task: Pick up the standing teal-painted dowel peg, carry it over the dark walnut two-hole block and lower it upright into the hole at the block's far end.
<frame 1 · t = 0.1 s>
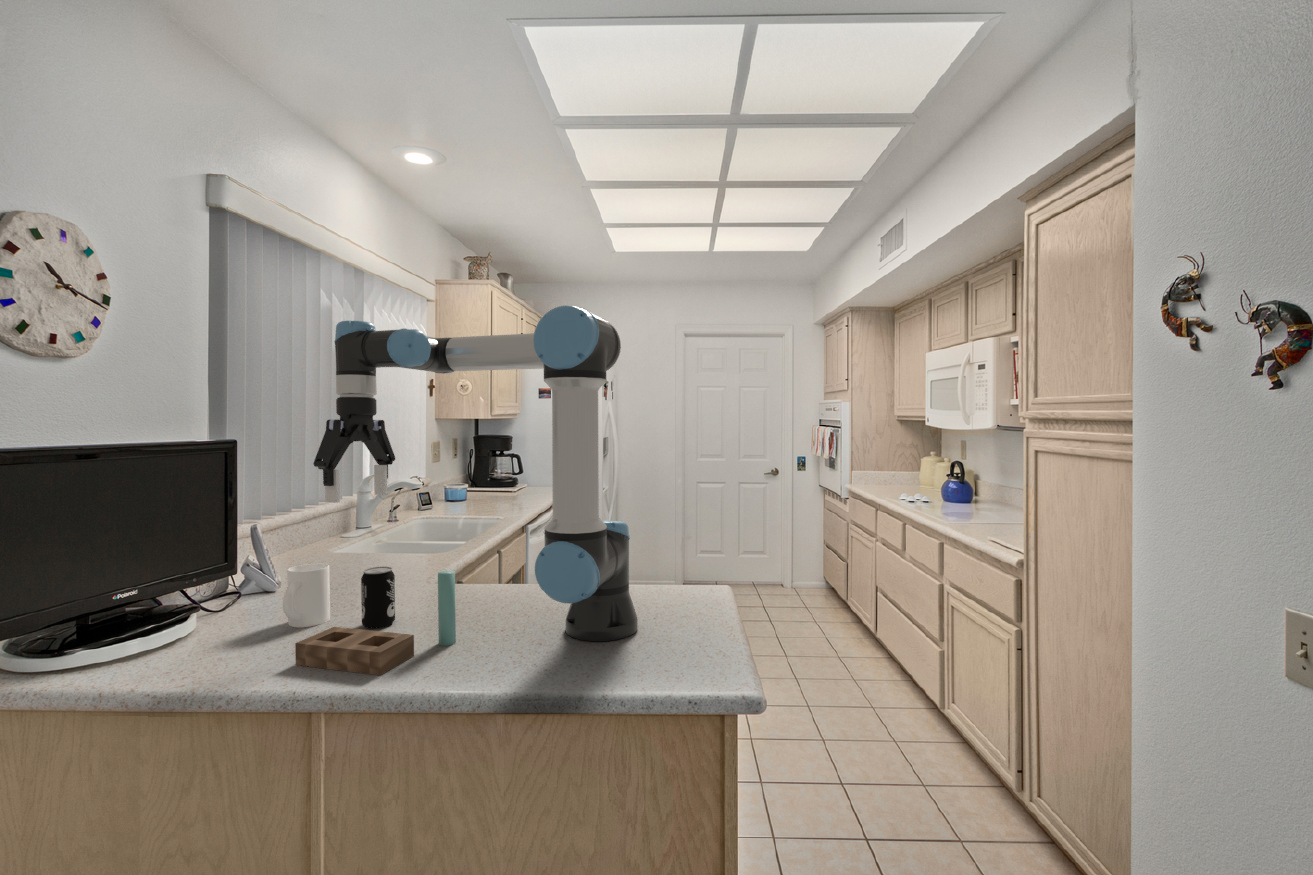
hand: (357, 498, 126), 28 cm above the countertop, fingers open, 13 cm apart
mug: (303, 625, 131), on the countertop
hole block: (356, 660, 111), on the countertop
peg: (447, 642, 119), on the countertop
beverage can: (378, 625, 131), on the countertop
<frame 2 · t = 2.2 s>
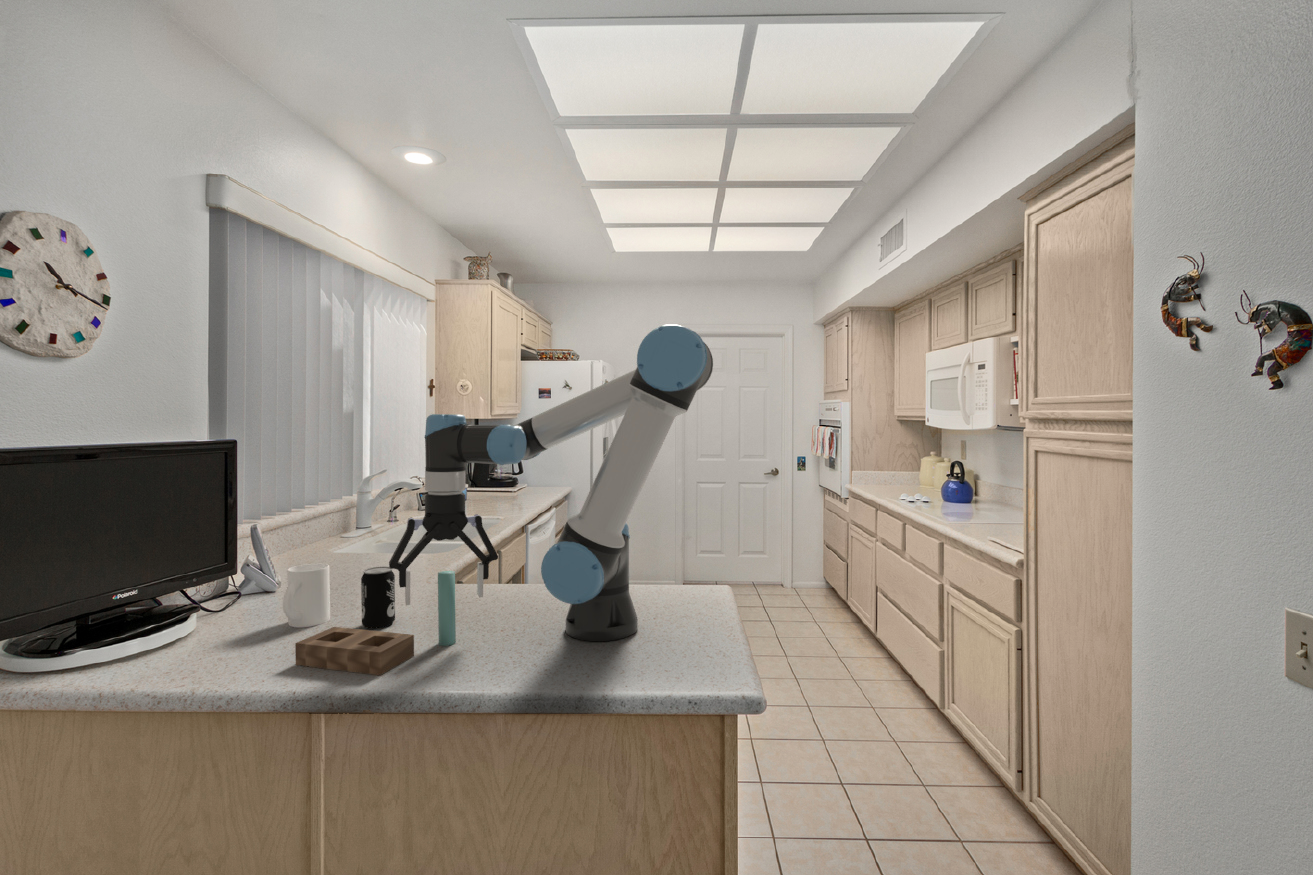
hand: (444, 599, 119), 9 cm above the countertop, fingers open, 13 cm apart
nothing on the countertop moved.
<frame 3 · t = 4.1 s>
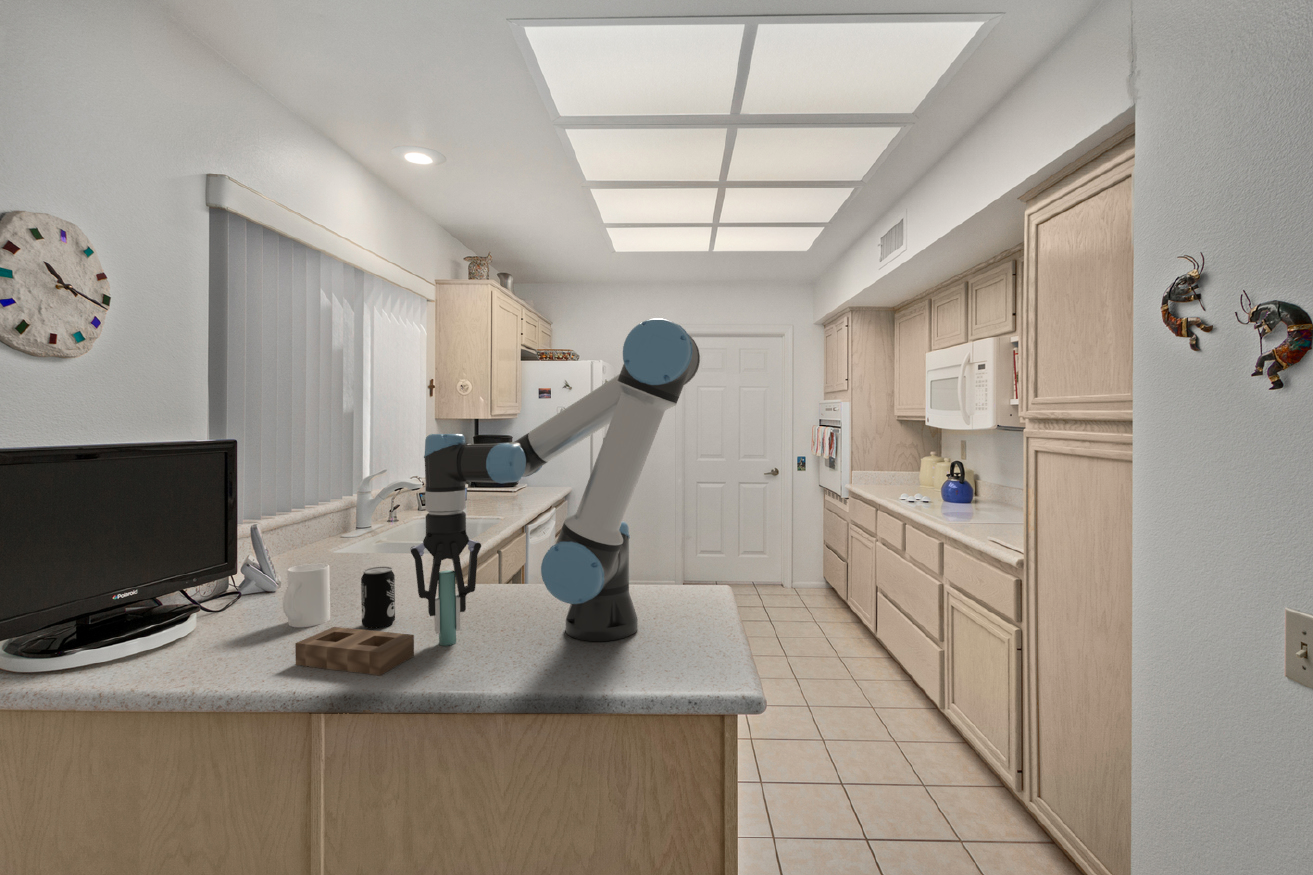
hand: (447, 629, 119), 3 cm above the countertop, fingers closed on peg, 3 cm apart
peg: (447, 642, 119), on the countertop, touching gripper
everything else where it was.
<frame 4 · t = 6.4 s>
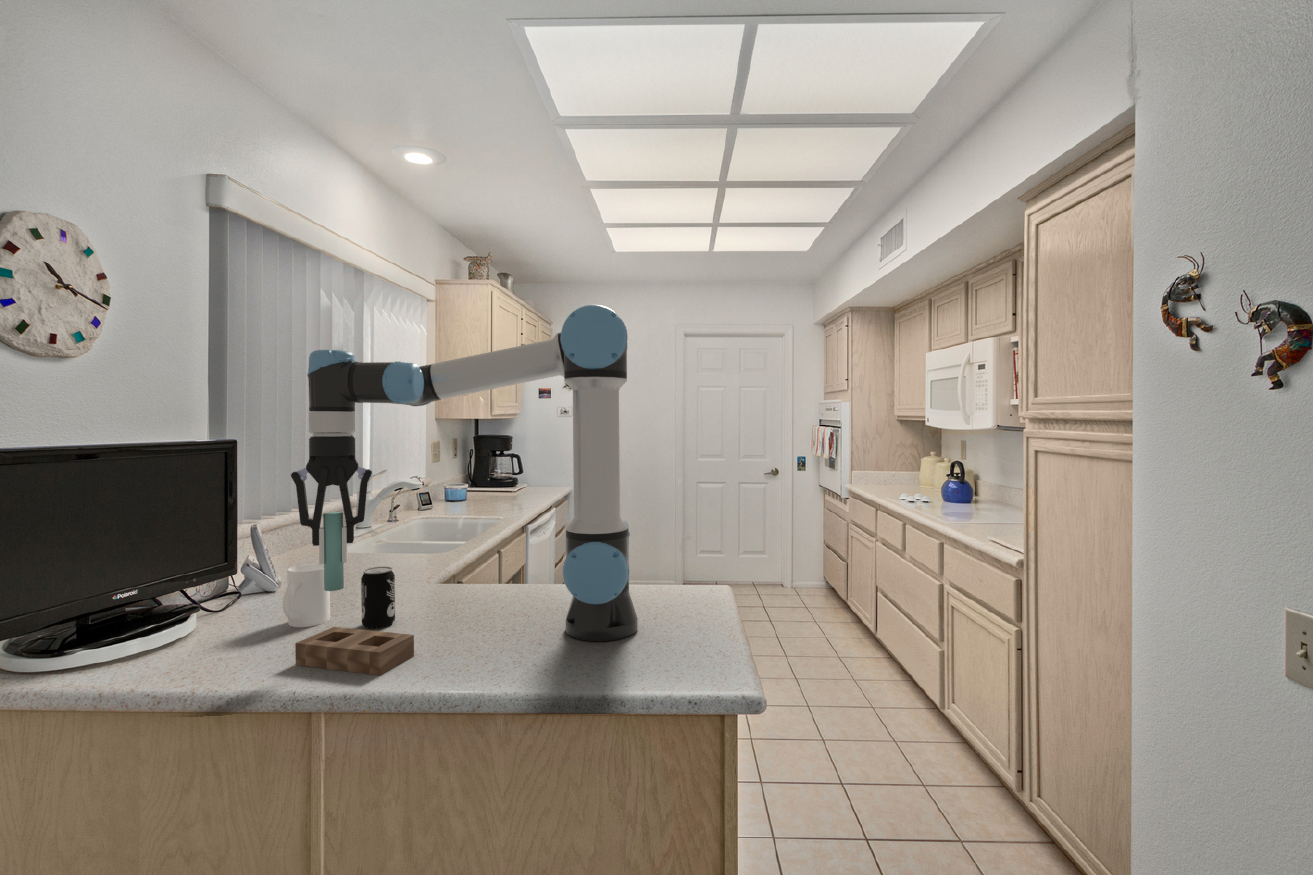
hand: (333, 561, 111), 18 cm above the countertop, fingers closed on peg, 3 cm apart
peg: (334, 588, 111), point 13 cm above the countertop, touching gripper
everything else where it was.
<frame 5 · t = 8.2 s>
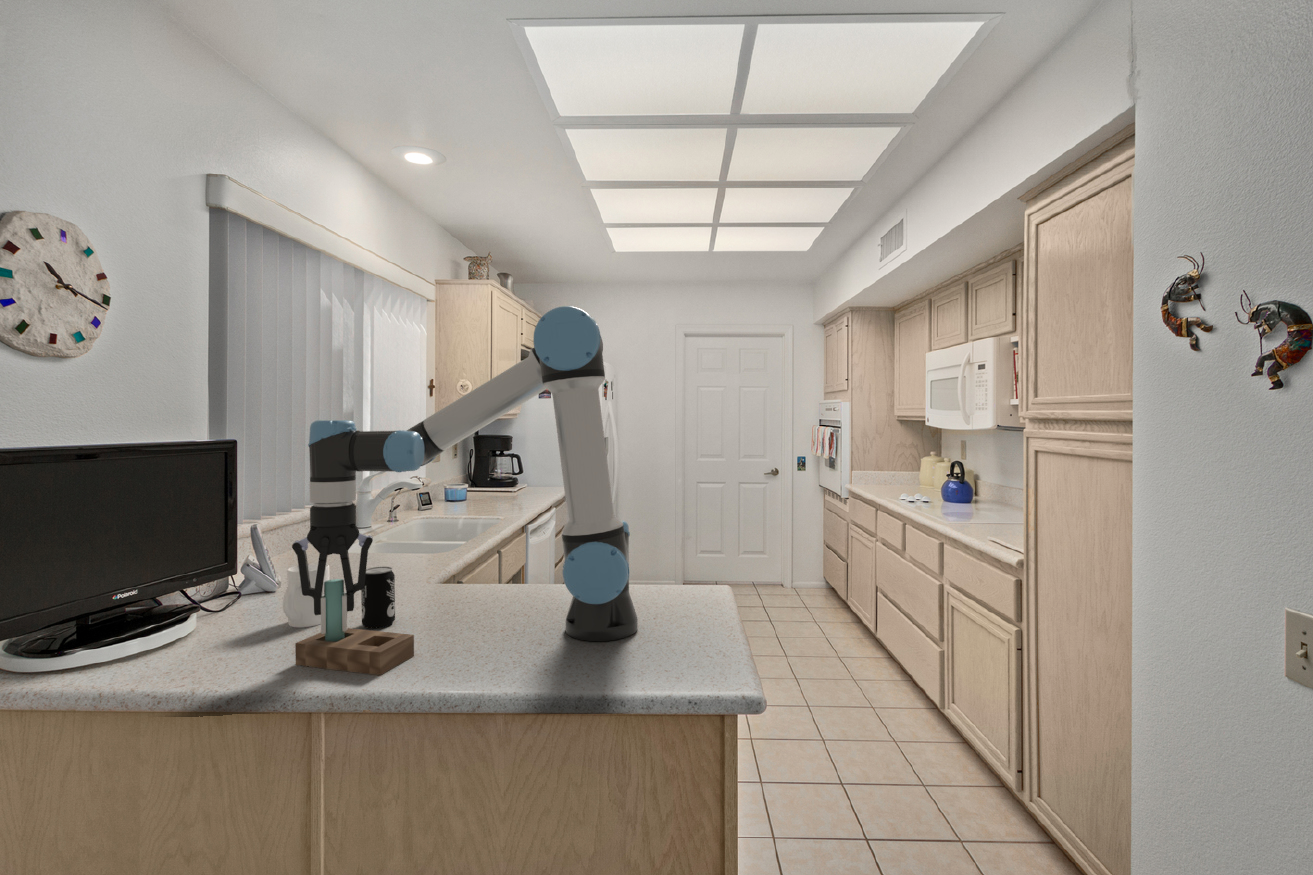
hand: (334, 629, 112), 5 cm above the countertop, fingers closed on peg, 3 cm apart
peg: (335, 656, 112), resting in hole block, touching gripper
everything else where it was.
when the fingers open (5 cm above the countertop, at t = 8.9 s): peg stays where it is, resting in hole block.
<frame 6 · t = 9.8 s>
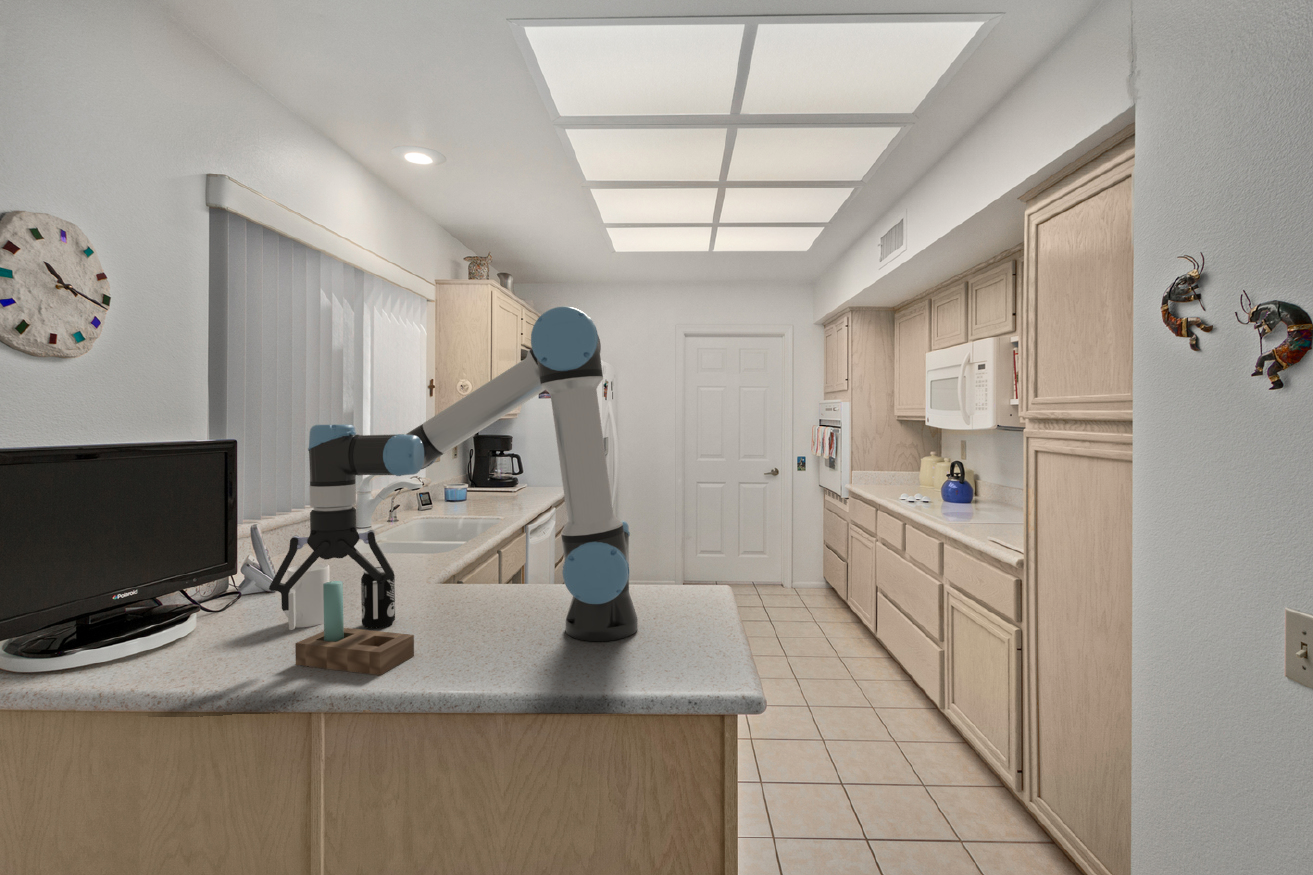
hand: (335, 622, 112), 7 cm above the countertop, fingers open, 13 cm apart
peg: (334, 658, 112), resting in hole block
everything else where it was.
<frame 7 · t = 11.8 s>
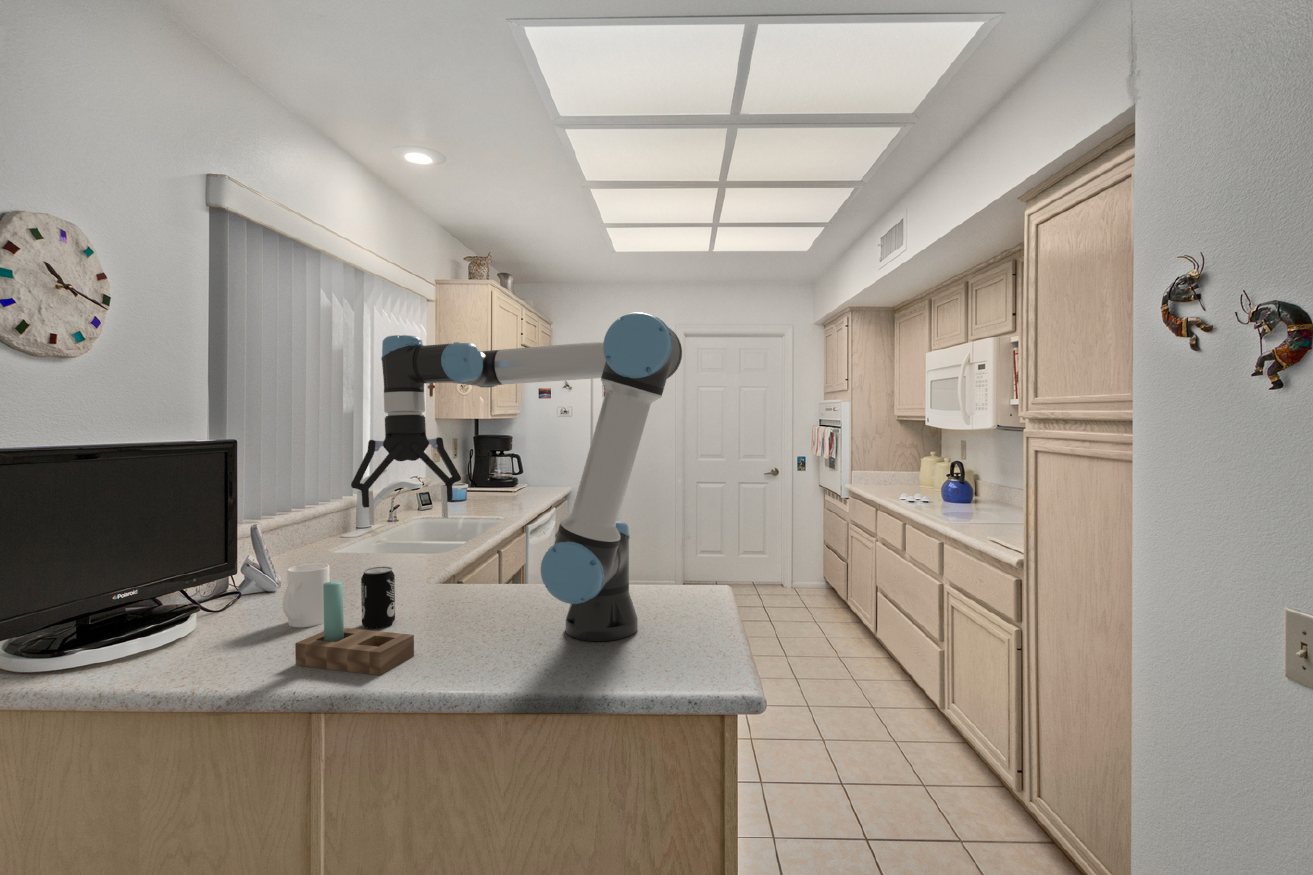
hand: (409, 520, 120), 24 cm above the countertop, fingers open, 13 cm apart
nothing on the countertop moved.
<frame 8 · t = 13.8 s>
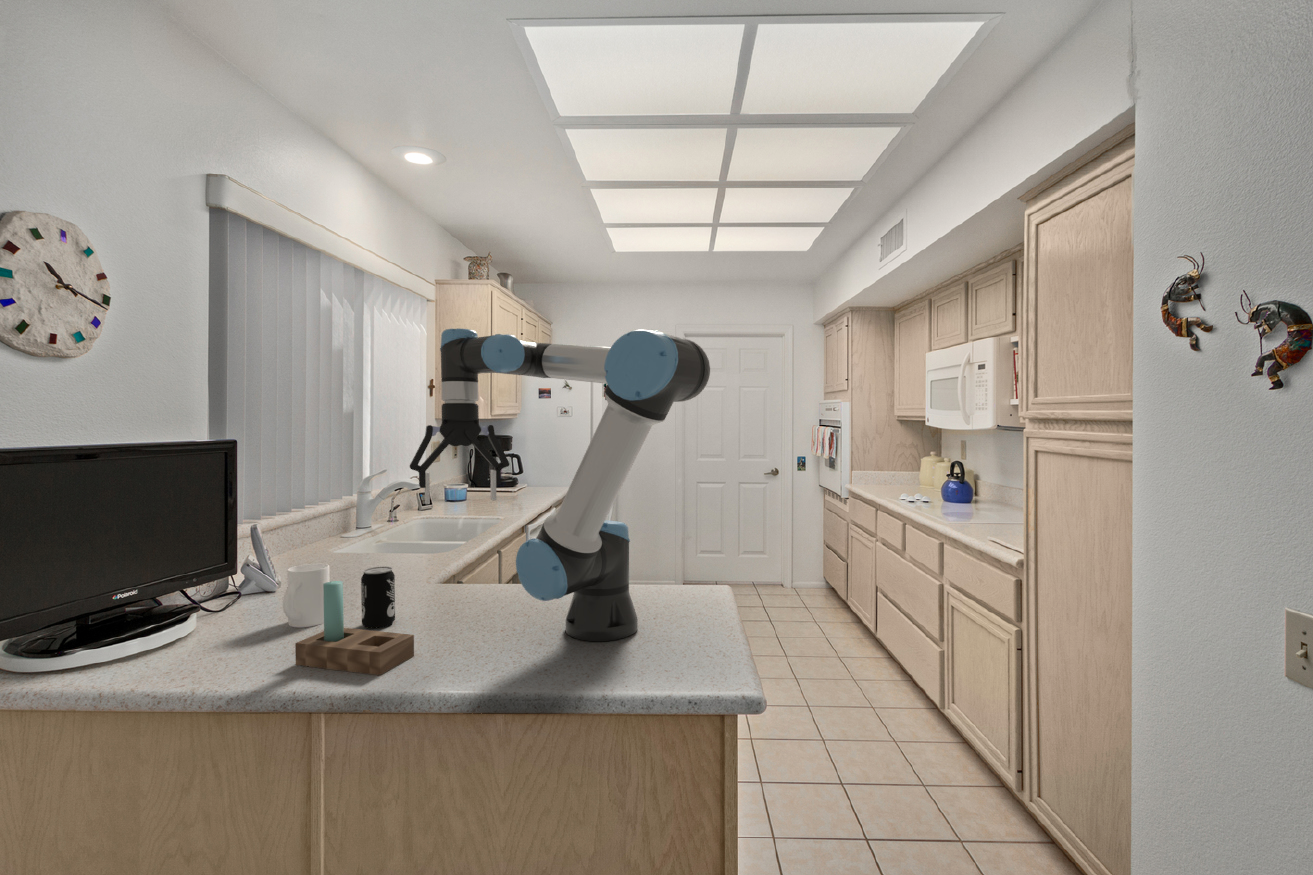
hand: (461, 501, 129), 27 cm above the countertop, fingers open, 13 cm apart
nothing on the countertop moved.
at the end: peg 0.2 cm from the target spot on the hole block, point 0.0 cm above the hole block's base; peg tilted 0°; the gripper is holding nothing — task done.
